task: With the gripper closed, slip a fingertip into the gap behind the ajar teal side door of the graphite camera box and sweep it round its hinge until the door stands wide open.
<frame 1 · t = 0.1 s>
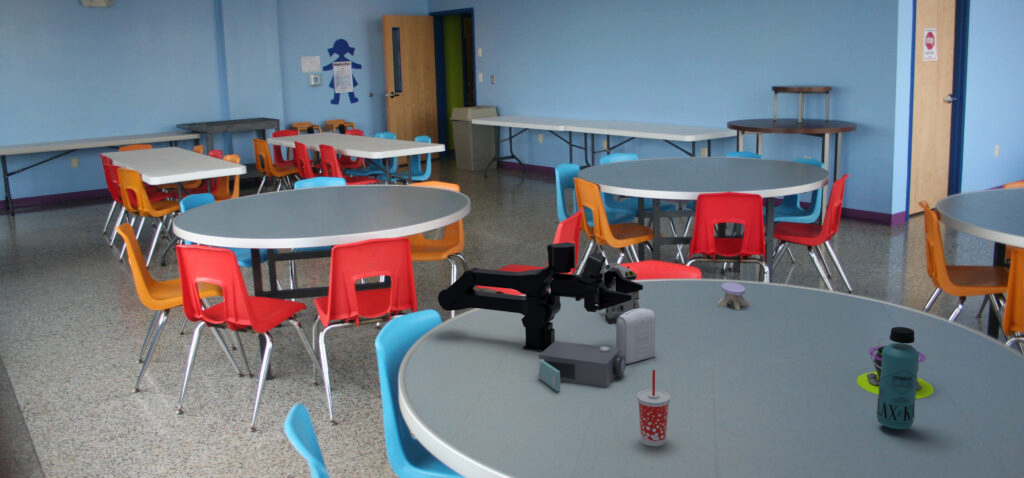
hand: (637, 292, 189), 17 cm above the table, tool horizontal, fingers open, 9 cm apart
figurine: (619, 318, 224), on the table
toy cauldron: (894, 386, 173), on the table
side door: (548, 375, 177), point 2 cm above the table, hinge at 40.0°
beverage cup: (653, 441, 151), on the table
photo printer: (635, 359, 192), on the table
beverage bottle: (894, 430, 152), on the table
camera box: (580, 374, 184), on the table
toy table: (732, 306, 232), on the table
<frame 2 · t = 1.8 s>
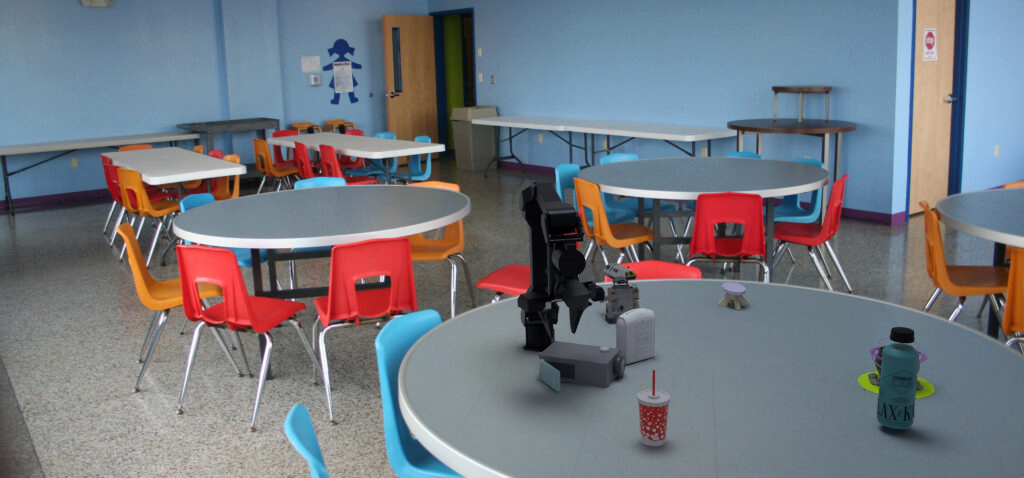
hand: (562, 335, 174), 12 cm above the table, tool pointing down, fingers open, 5 cm apart
nothing on the table moved.
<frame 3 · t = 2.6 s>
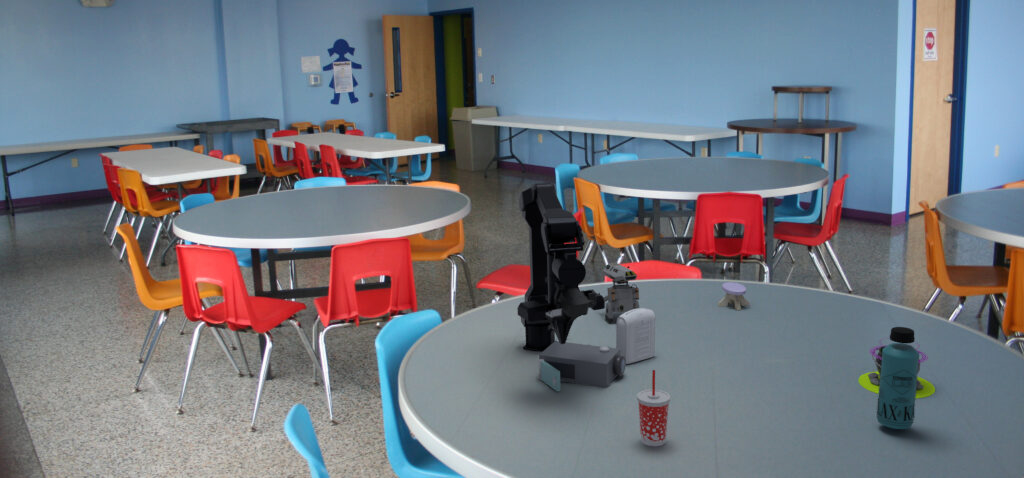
hand: (562, 343, 175), 10 cm above the table, tool pointing down, fingers closed
nothing on the table moved.
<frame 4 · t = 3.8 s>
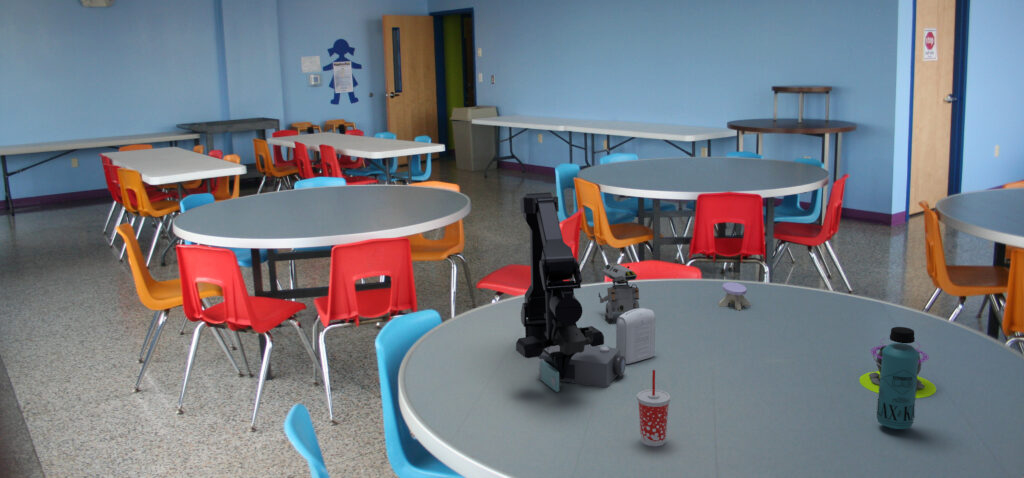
hand: (561, 378, 176), 2 cm above the table, tool pointing down, fingers closed
side door: (548, 375, 177), point 2 cm above the table, hinge at 42.0°, touching gripper
everything else where it was.
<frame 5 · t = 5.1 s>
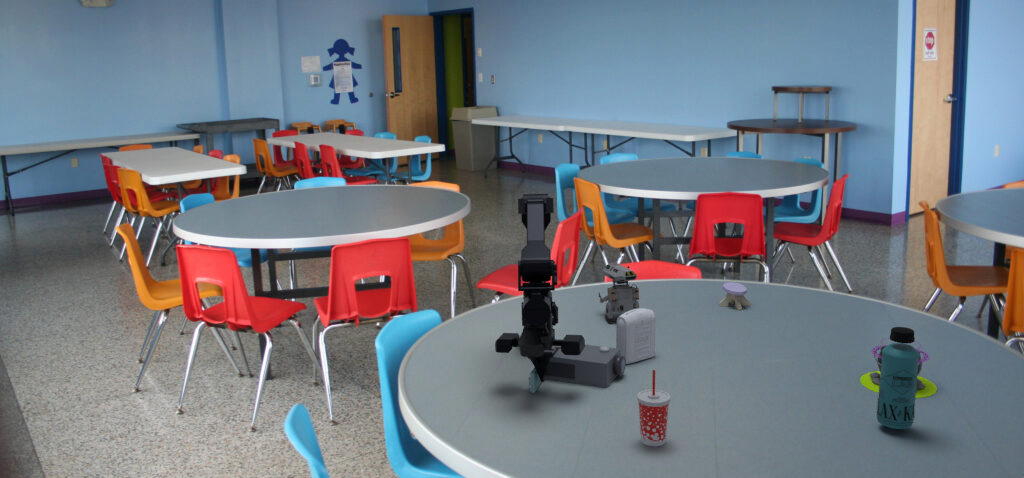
hand: (542, 381, 175), 2 cm above the table, tool pointing down, fingers closed
side door: (536, 375, 177), point 2 cm above the table, hinge at 82.2°, touching gripper
everything else where it was.
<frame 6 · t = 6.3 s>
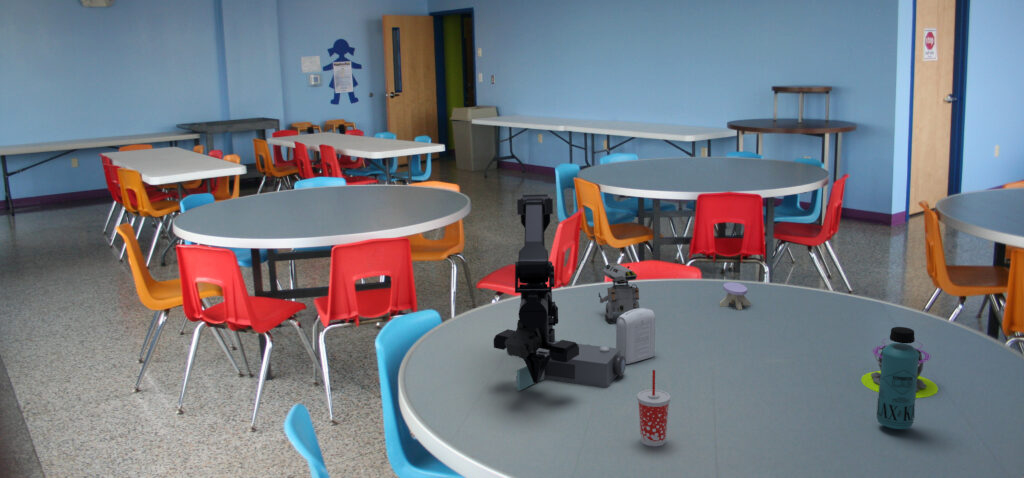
hand: (536, 382, 174), 2 cm above the table, tool pointing down, fingers closed
side door: (530, 374, 178), point 2 cm above the table, hinge at 106.5°
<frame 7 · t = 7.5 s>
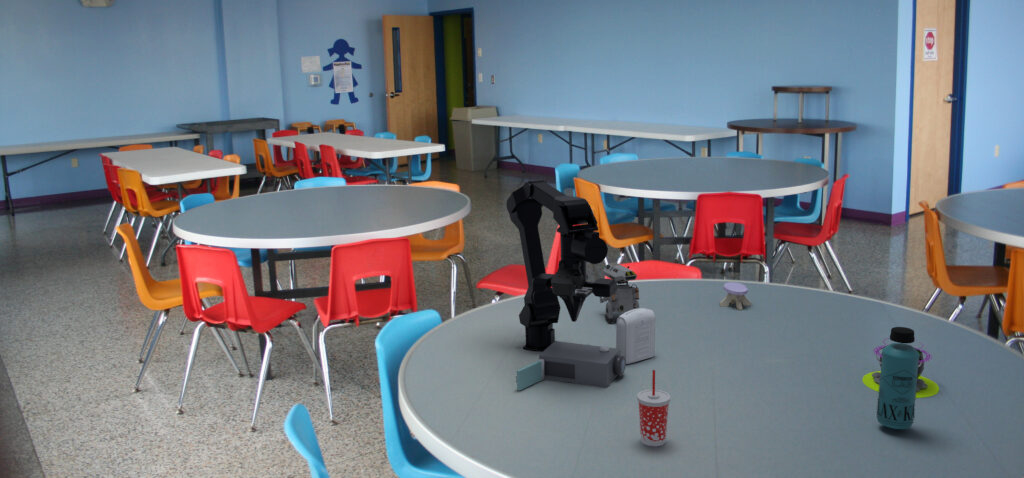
hand: (574, 321, 184), 12 cm above the table, tool pointing down, fingers closed
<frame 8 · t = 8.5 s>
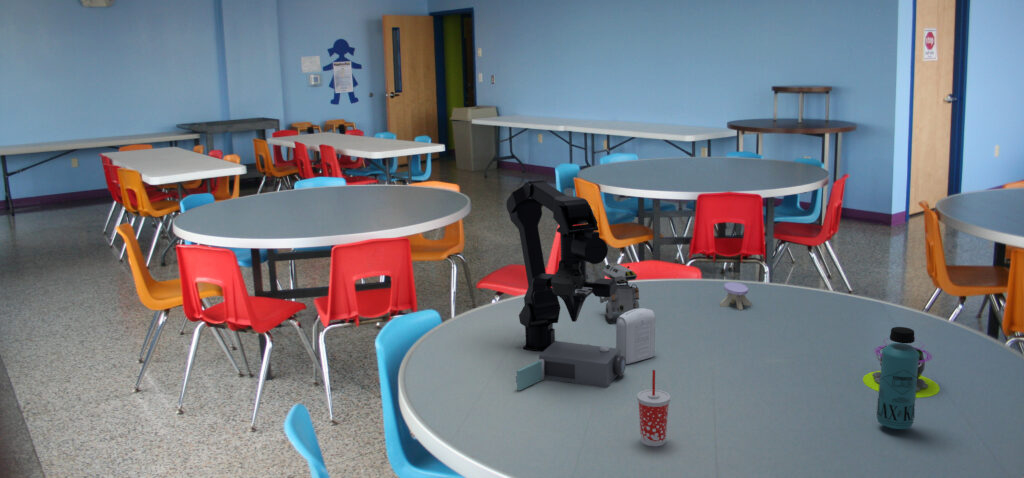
hand: (574, 321, 184), 12 cm above the table, tool pointing down, fingers closed
at the end: side door at +107° (first picture: +40°); side door touching nothing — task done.
